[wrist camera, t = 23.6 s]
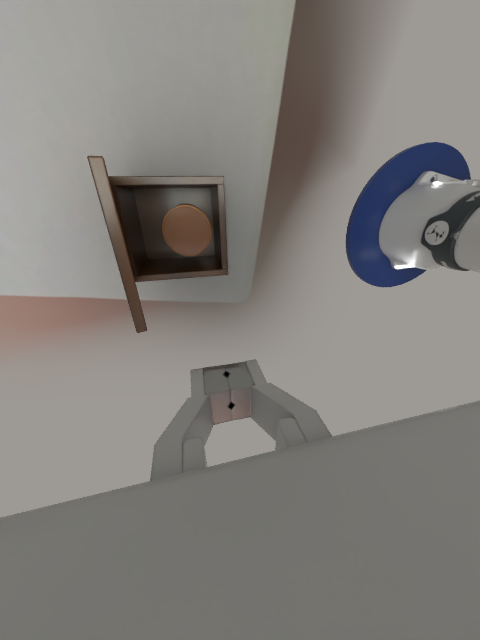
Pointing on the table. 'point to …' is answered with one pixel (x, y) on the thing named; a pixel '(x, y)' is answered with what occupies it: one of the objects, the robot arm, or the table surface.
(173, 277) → the brown wooden box
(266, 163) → the table surface
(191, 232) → the brown lidded canister
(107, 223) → the lid
